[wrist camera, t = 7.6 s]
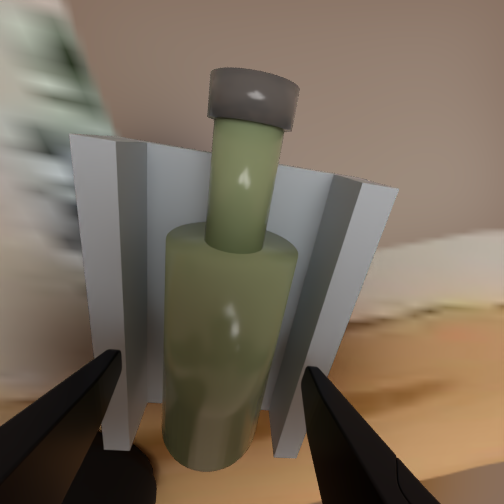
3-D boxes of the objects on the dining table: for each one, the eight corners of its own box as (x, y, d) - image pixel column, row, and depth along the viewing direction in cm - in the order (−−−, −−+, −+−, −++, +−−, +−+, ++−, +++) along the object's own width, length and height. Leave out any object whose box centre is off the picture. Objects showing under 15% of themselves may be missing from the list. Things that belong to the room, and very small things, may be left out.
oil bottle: (250, 377, 14) (262, 468, 10) (171, 376, 14) (150, 474, 10) (306, 109, 9) (375, 82, 5) (182, 84, 8) (147, 29, 4)
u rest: (288, 399, 16) (299, 458, 13) (128, 388, 15) (99, 449, 12) (358, 177, 11) (405, 190, 8) (116, 136, 10) (60, 131, 7)
